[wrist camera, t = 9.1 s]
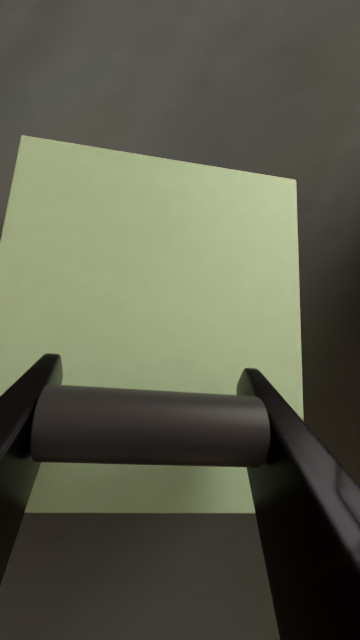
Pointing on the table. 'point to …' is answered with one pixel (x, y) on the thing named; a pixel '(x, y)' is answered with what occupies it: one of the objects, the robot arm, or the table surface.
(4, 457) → the robot arm
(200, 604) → the table surface
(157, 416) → the bin lid
